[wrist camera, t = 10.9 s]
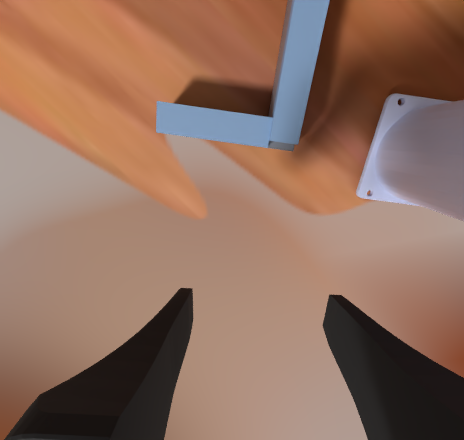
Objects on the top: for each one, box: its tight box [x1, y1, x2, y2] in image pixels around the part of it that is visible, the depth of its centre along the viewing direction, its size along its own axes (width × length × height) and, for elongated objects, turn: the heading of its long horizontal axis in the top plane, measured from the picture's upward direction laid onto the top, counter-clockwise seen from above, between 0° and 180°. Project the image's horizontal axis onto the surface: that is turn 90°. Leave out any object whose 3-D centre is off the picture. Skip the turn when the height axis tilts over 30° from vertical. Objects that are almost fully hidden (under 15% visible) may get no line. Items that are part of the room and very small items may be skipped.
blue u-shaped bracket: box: [156, 0, 330, 148], centre depth 14 cm, size 10×13×1 cm
